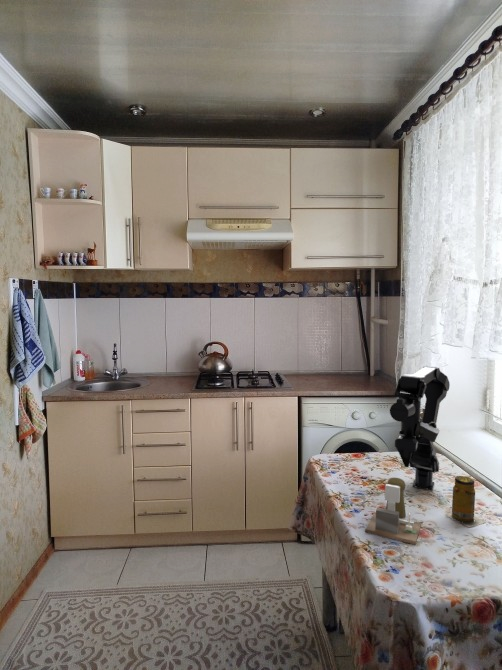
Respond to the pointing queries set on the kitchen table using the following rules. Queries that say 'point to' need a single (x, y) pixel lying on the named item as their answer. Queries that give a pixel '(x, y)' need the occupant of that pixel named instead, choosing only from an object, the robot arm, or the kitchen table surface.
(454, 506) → the condiment
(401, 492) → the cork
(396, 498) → the block
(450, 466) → the kitchen table surface
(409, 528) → the pointer
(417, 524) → the board
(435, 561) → the kitchen table surface
